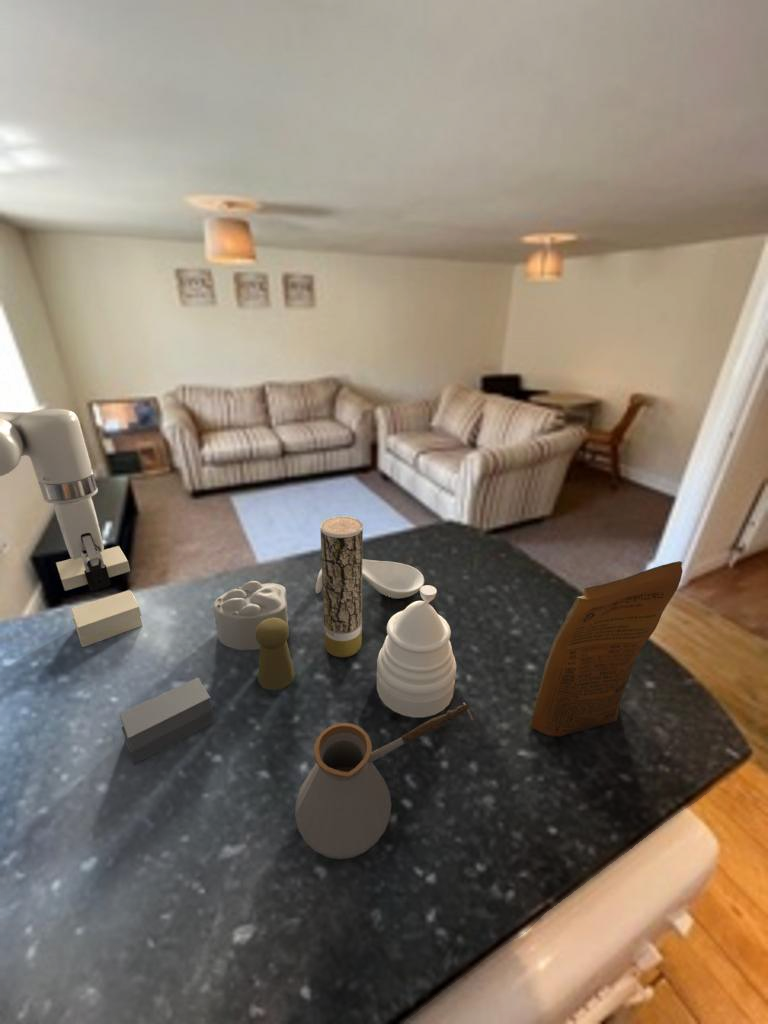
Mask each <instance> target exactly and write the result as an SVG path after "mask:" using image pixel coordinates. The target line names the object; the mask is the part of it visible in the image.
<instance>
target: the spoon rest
mask: <svg viewBox="0 0 768 1024" xmlns="http://www.w3.org/2000/svg"><path fill="white" fill-rule="evenodd" d="M424 577H425V576H424V575H423V573H422V572H421V571H420V570H419V569H417V568H416V567H413V566H411V565H409V564H406V563H401V562H395V561H385V560H373V559H364V558H362V579H364V580H365V581H367V583H368V584H369V585H371V587H373V588H374V589H375V591H377V592H378V593H379V594H381V595H383V596H384V597H387V596H388V597H387V598H390V597H391V598H390V599H405V598H409V597H411V596H414V595H415V594H417V593H418V592H420V588H421V587H422V586H425V578H424ZM322 590H323V587H322V568H321V569H320V570H319V572H318V575H317V579H316V583H315V590H314V591H315V593H316V594H319V593H321V591H322Z"/></svg>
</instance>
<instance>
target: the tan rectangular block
mask: <svg viewBox="0 0 768 1024" xmlns="http://www.w3.org/2000/svg"><path fill="white" fill-rule="evenodd" d="M139 605H140V604H139V603H138V602H137V599H136V598H135V596H134V594H133V593H132V591H131V589H127V590H125V591H122V592H119V593H115V594H112V595H109V596H106V597H102V598H99V599H97V600H94V601H90V602H87V603H84V604H81V605H78V606H74V607H72V608H70V610H71V613H72V616H73V618H72V621H73V623H74V627H75V631H76V633H77V636H78V639H79V642H80V645H81V648H85V647H89V646H92V645H94V644H96V643H99V642H101V641H104V640H107V639H110V638H112V637H116V636H118V635H121V634H123V633H127V632H129V631H131V630H134V629H137V628H140V627H142V626H143V621H142V612H141V609H140V606H139Z"/></svg>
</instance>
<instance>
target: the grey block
mask: <svg viewBox="0 0 768 1024" xmlns="http://www.w3.org/2000/svg"><path fill="white" fill-rule="evenodd" d="M119 718H120V722H121V724H122V726H121V730H122V733H123V737H124V740H125V743H126V746H127V748H128V751H129V754H130V757H131V760H132V763H133V765H137V764H138V763H141V762H143V760H146V759H148V758H149V757H152V756H153V755H156V754H157V753H159V752H161V751H163V750H164V749H167V748H169V747H170V746H172V745H174V744H176V743H178V742H180V741H181V740H183V739H185V738H188V737H189V736H192V734H195V733H196V732H199V731H201V730H202V729H204V728H207V727H208V726H210V725H211V724H214V723H215V716H214V711H213V705H212V700H211V696H210V695H209V693H208V692H207V689H206V688H205V686H204V685H203V683H202V681H201V679H200V678H199V677H195V678H193V679H191V680H189V681H187V682H185V683H182V684H180V685H178V686H176V687H174V688H171V689H169V690H167V691H165V692H162V693H160V694H159V695H156V696H154V697H152V698H150V699H147V700H145V701H143V702H141V703H139V704H137V705H134V706H133V707H130V708H129V709H126V710H124V711H122V712H119Z"/></svg>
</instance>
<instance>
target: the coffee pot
mask: <svg viewBox="0 0 768 1024" xmlns="http://www.w3.org/2000/svg"><path fill="white" fill-rule="evenodd" d="M466 712H467V714H468V716H469V717H470V719H471V721H474V717H473V715H472V713H471V711H470V708H469V706H468V704H467V703H465V702H463V703H462V705H459V706H457V707H456V709H453V710H451V709H447V711H446V713H445V714H442V715H438V716H437V717H433V718H430V719H428V720H427V721H425V722H423V723H422V724H420V725H418V726H416V727H415V728H414V729H412V730H410V731H409V732H407V733H405V734H403V735H401V737H399V738H397V739H395V740H393V741H391V742H389V743H387V744H385V745H382V746H381V747H379V748H377V749H375V750H373V745H372V741H371V739H370V736H369V735H368V733H367V732H366V731H365V730H364V729H363V728H361V727H360V726H358V725H357V724H354V723H349V722H340V723H336V724H331V725H330V726H328V727H327V728H325V729H323V731H321V733H319V735H318V737H317V738H316V739H315V742H314V746H313V757H314V760H315V764H314V766H313V767H312V769H311V770H310V772H309V773H308V775H307V777H306V778H305V780H304V782H303V783H302V785H301V786H300V788H299V791H298V793H297V797H296V800H295V811H294V812H295V813H294V818H295V822H296V826H297V830H298V832H299V834H300V835H301V837H302V839H303V840H304V842H305V843H306V844H307V845H308V846H309V847H310V848H311V849H312V850H313V851H314V852H316V853H318V854H320V855H322V856H323V857H325V858H328V859H335V860H347V859H352V858H356V857H357V856H358V857H359V856H360V855H361V854H364V853H366V852H367V851H368V850H369V849H371V848H372V847H373V846H374V845H376V844H377V843H378V842H379V840H380V839H381V838H382V836H383V834H384V833H385V832H386V830H387V826H388V824H389V821H390V819H391V813H392V812H391V811H392V800H391V799H392V798H391V793H390V790H389V787H388V785H387V783H386V780H385V779H384V778H383V776H382V774H381V772H380V771H379V770H378V769H377V767H376V766H375V765H374V763H373V762H374V761H376V760H378V759H380V758H382V757H383V756H385V755H387V754H388V753H391V752H392V751H394V750H396V749H398V748H399V747H401V746H403V745H406V744H408V743H410V742H413V741H415V740H417V739H419V738H421V737H424V736H426V735H428V734H430V733H432V732H434V731H437V730H438V729H439V728H440V727H442V726H443V725H444V724H445V723H447V722H449V721H452V722H453V721H454V720H455V718H456V717H458V716H459V715H463V714H464V713H466Z"/></svg>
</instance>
